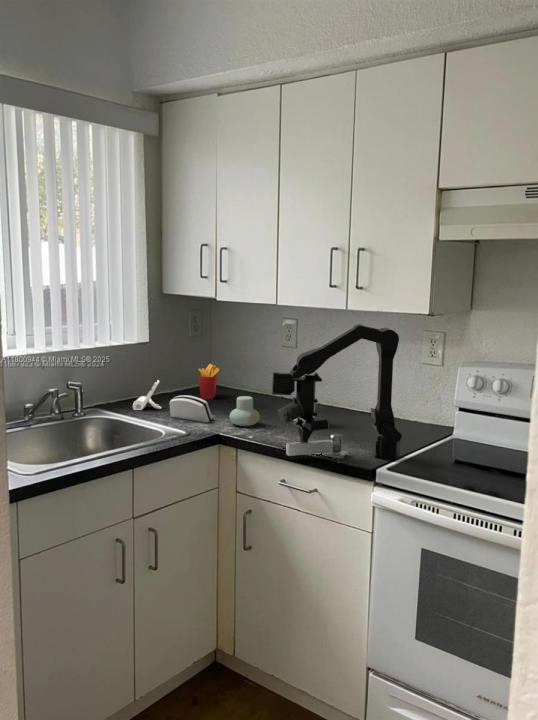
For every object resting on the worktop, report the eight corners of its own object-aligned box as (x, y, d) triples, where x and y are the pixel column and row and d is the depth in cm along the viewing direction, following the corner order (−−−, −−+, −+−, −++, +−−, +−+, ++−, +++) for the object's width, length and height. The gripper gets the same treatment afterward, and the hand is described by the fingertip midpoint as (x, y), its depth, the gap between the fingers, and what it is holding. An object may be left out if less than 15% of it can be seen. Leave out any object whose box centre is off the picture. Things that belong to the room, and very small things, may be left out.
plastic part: (138, 406, 266) (137, 378, 264) (162, 407, 265) (162, 378, 263) (132, 410, 258) (132, 381, 257) (157, 411, 258) (157, 382, 256)
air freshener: (245, 429, 234) (245, 401, 232) (226, 426, 238) (226, 398, 237) (262, 423, 243) (262, 396, 242) (243, 420, 247) (244, 393, 246)
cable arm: (338, 448, 207) (339, 433, 206) (343, 452, 204) (344, 436, 203) (285, 453, 201) (285, 437, 200) (289, 456, 198) (290, 440, 197)
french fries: (197, 399, 281) (198, 364, 279) (203, 395, 289) (204, 361, 287) (217, 400, 279) (218, 365, 277) (223, 396, 287) (223, 362, 285)
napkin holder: (215, 419, 247) (210, 396, 242) (208, 426, 243) (203, 402, 239) (178, 413, 255) (172, 391, 250) (171, 420, 251) (165, 397, 246)
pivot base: (348, 455, 206) (348, 451, 206) (340, 459, 201) (340, 456, 201) (331, 451, 209) (331, 448, 209) (322, 456, 204) (322, 453, 204)
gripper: (267, 390, 205) (266, 439, 208) (297, 404, 188) (296, 457, 191) (298, 387, 210) (297, 435, 213) (331, 401, 194) (328, 452, 196)
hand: (303, 444), depth 203 cm, fingers closed
